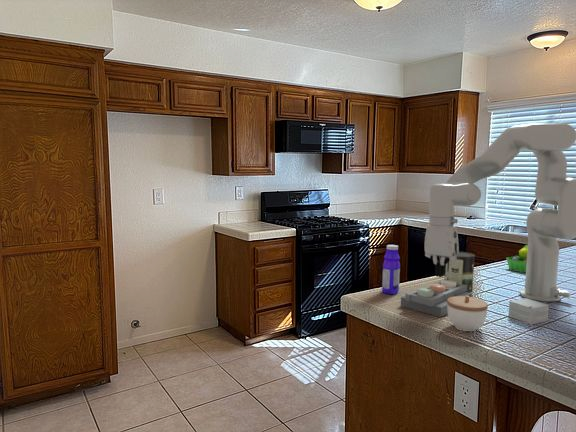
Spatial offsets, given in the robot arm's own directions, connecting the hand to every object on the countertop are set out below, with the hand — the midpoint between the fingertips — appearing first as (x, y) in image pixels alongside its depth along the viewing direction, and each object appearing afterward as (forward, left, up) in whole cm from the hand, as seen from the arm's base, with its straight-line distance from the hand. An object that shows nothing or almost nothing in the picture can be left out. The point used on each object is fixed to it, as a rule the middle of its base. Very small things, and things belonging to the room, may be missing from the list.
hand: (440, 275), depth 141 cm
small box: (-25, -7, -10) cm, 28 cm away
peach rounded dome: (0, +1, -6) cm, 6 cm away
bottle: (+18, +1, -10) cm, 21 cm away
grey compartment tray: (0, +1, -10) cm, 10 cm away
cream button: (0, -7, -6) cm, 10 cm away
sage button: (0, +9, -6) cm, 11 cm away
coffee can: (+2, -19, -10) cm, 22 cm away
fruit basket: (-3, -73, -10) cm, 74 cm away
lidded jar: (-16, +15, -10) cm, 24 cm away
